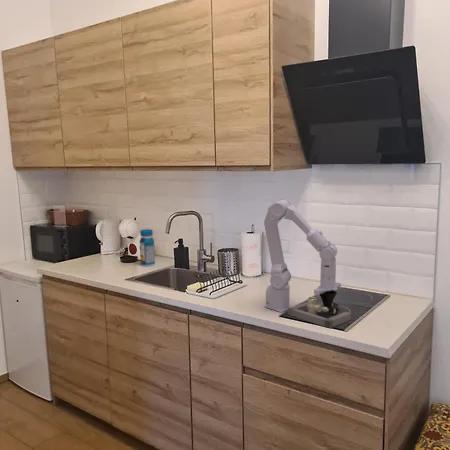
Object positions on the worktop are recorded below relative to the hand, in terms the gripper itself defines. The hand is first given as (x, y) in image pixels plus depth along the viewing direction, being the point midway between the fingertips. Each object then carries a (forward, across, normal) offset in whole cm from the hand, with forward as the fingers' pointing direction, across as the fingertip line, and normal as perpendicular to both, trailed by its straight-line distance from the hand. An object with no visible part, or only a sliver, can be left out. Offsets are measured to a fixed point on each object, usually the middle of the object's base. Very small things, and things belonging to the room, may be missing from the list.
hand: (327, 309), depth 184 cm
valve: (+2, -4, 0) cm, 5 cm away
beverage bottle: (+2, -7, +120) cm, 120 cm away
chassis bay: (+2, -5, 0) cm, 5 cm away
